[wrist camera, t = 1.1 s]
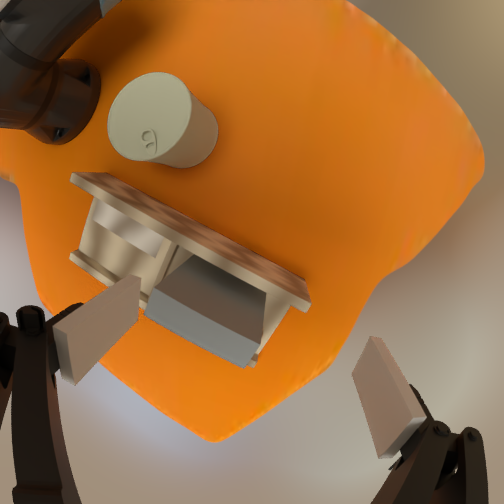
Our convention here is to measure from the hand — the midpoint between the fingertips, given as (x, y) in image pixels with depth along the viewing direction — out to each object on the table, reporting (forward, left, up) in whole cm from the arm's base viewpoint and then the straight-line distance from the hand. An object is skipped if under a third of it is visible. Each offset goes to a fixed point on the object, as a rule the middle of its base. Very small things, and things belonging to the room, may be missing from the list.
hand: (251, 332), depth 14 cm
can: (-16, +8, -22) cm, 29 cm away
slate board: (-2, -6, -21) cm, 22 cm away
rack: (-9, -8, -22) cm, 25 cm away
